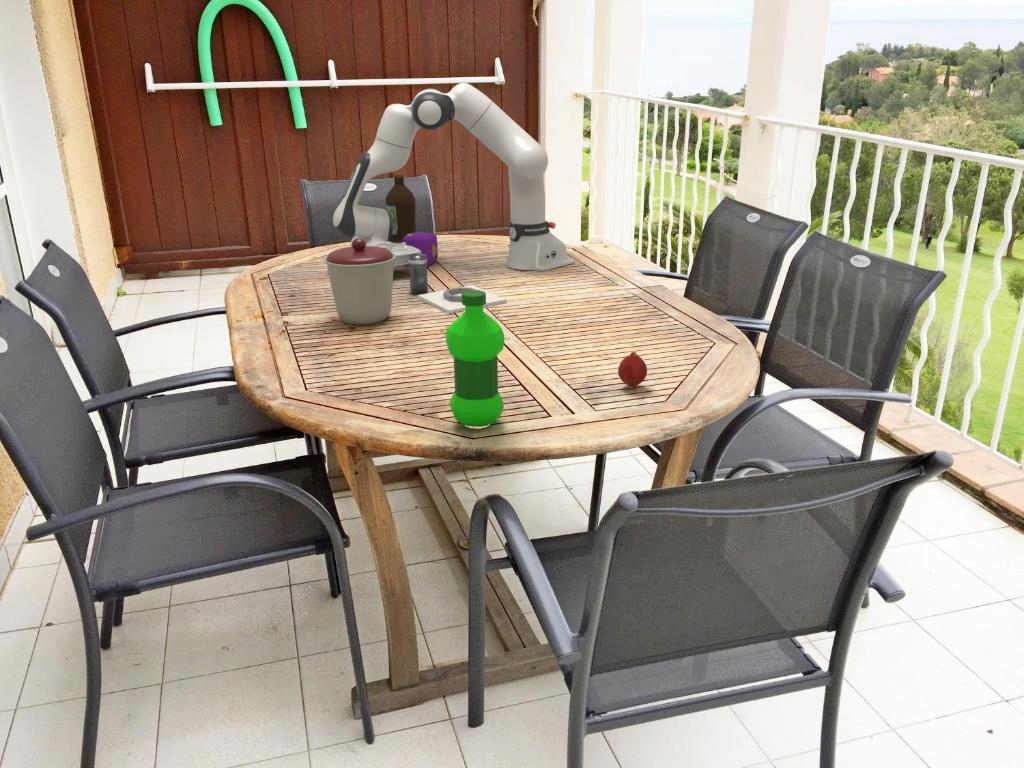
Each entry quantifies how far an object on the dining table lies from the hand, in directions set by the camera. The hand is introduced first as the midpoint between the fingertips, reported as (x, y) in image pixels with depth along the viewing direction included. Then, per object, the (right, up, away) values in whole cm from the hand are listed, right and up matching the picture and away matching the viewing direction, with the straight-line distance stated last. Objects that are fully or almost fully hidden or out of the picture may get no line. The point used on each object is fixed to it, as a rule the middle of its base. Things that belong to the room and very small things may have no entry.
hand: (399, 264), depth 240 cm
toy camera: (+4, +4, +28) cm, 28 cm away
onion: (+58, -37, -75) cm, 101 cm away
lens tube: (+7, -9, -7) cm, 13 cm away
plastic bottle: (+27, -43, -90) cm, 103 cm away
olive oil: (-6, +15, +54) cm, 56 cm away
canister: (-5, -19, -29) cm, 35 cm away
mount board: (+19, -12, -15) cm, 27 cm away
